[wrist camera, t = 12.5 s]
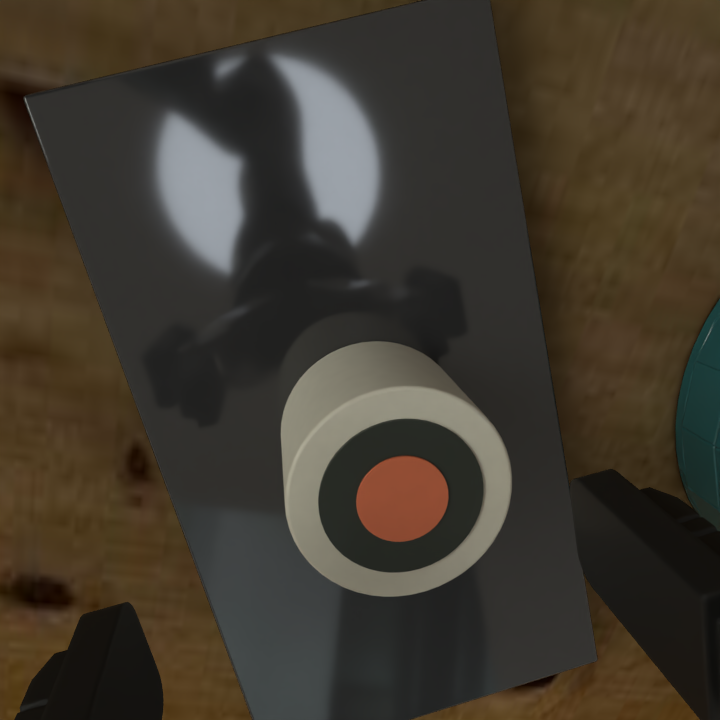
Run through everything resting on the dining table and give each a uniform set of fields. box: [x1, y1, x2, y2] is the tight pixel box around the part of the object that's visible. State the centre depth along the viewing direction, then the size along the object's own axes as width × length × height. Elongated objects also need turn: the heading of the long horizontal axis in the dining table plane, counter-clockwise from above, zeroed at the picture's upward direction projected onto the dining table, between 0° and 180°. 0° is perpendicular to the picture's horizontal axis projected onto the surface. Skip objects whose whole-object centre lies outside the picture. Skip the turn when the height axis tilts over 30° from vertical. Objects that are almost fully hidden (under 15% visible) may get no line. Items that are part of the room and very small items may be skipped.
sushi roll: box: [281, 341, 512, 597], centre depth 16 cm, size 5×5×4 cm
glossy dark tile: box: [24, 0, 598, 720], centre depth 18 cm, size 11×20×1 cm, turn 13°
